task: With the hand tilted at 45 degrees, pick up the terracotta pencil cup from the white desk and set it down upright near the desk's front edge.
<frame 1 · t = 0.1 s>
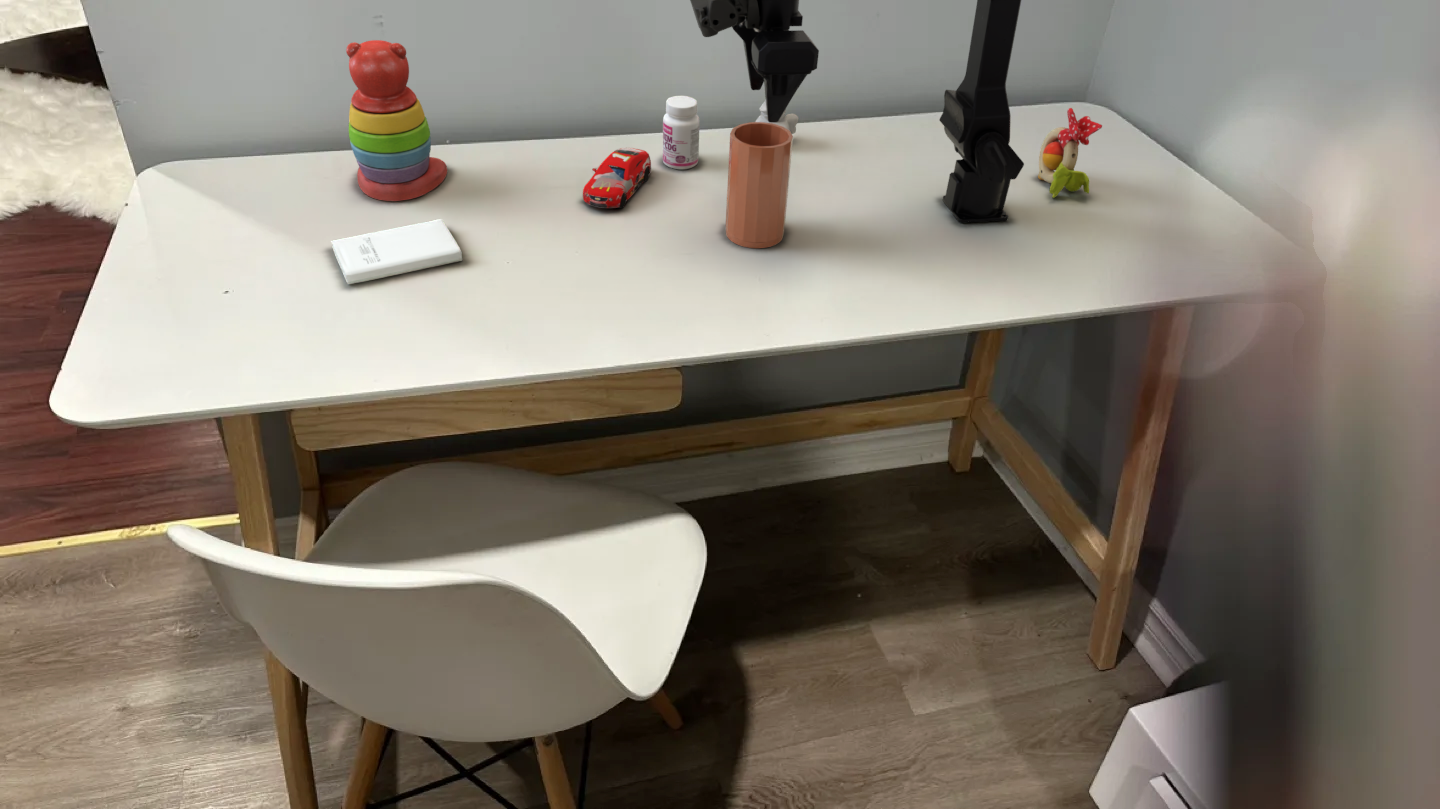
hand: (763, 105, 112), 15 cm above the table, tool pointing down, fingers open, 9 cm apart
stacking bear: (400, 185, 125), on the table
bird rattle: (1052, 189, 132), on the table
pencil cup: (754, 233, 119), on the table
hard drive: (398, 258, 112), on the table
pill bottle: (680, 163, 133), on the table
race car: (618, 190, 126), on the table
white rounded figure: (774, 144, 139), on the table
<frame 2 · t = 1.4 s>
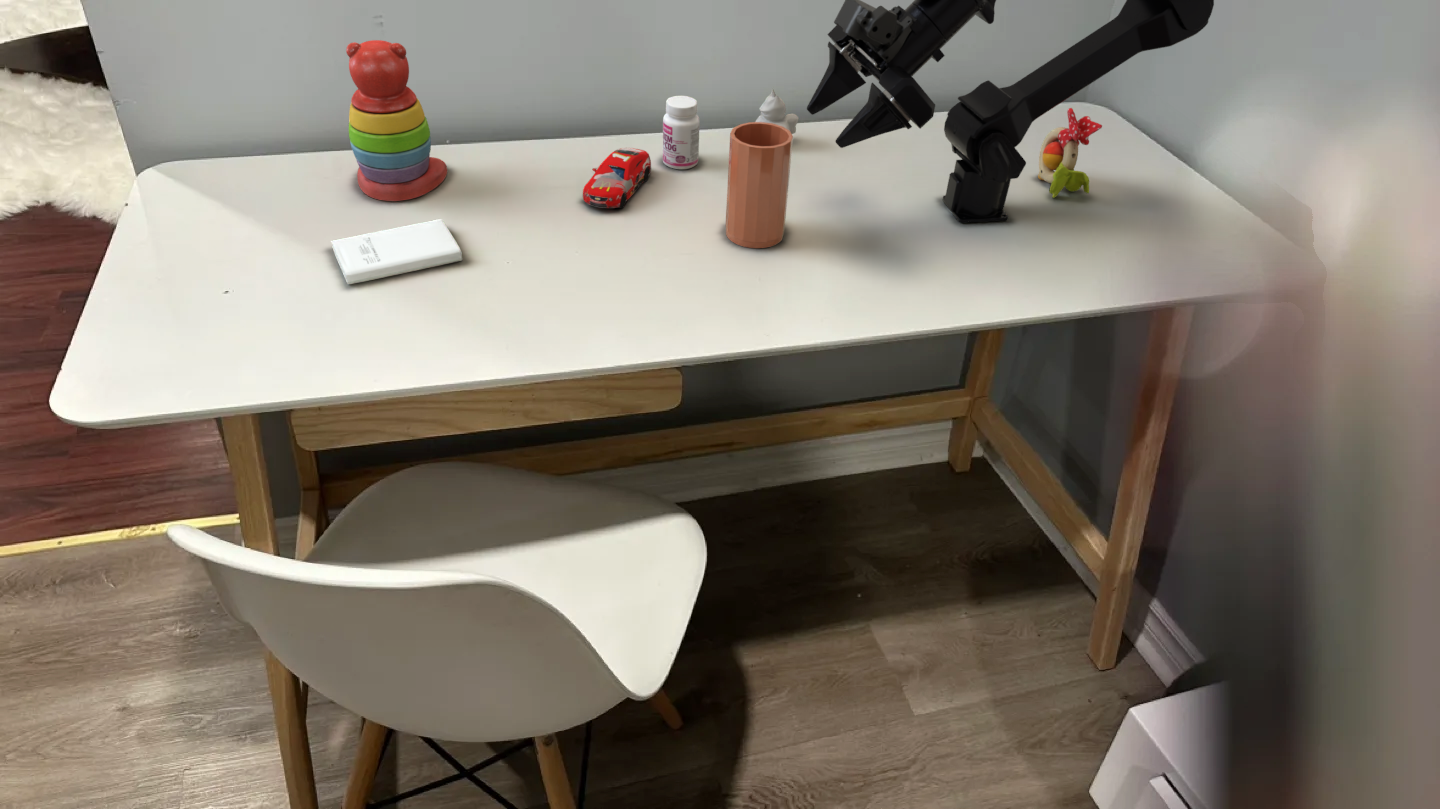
hand: (823, 127, 113), 13 cm above the table, tool tilted 45°, fingers open, 9 cm apart
nothing on the table moved.
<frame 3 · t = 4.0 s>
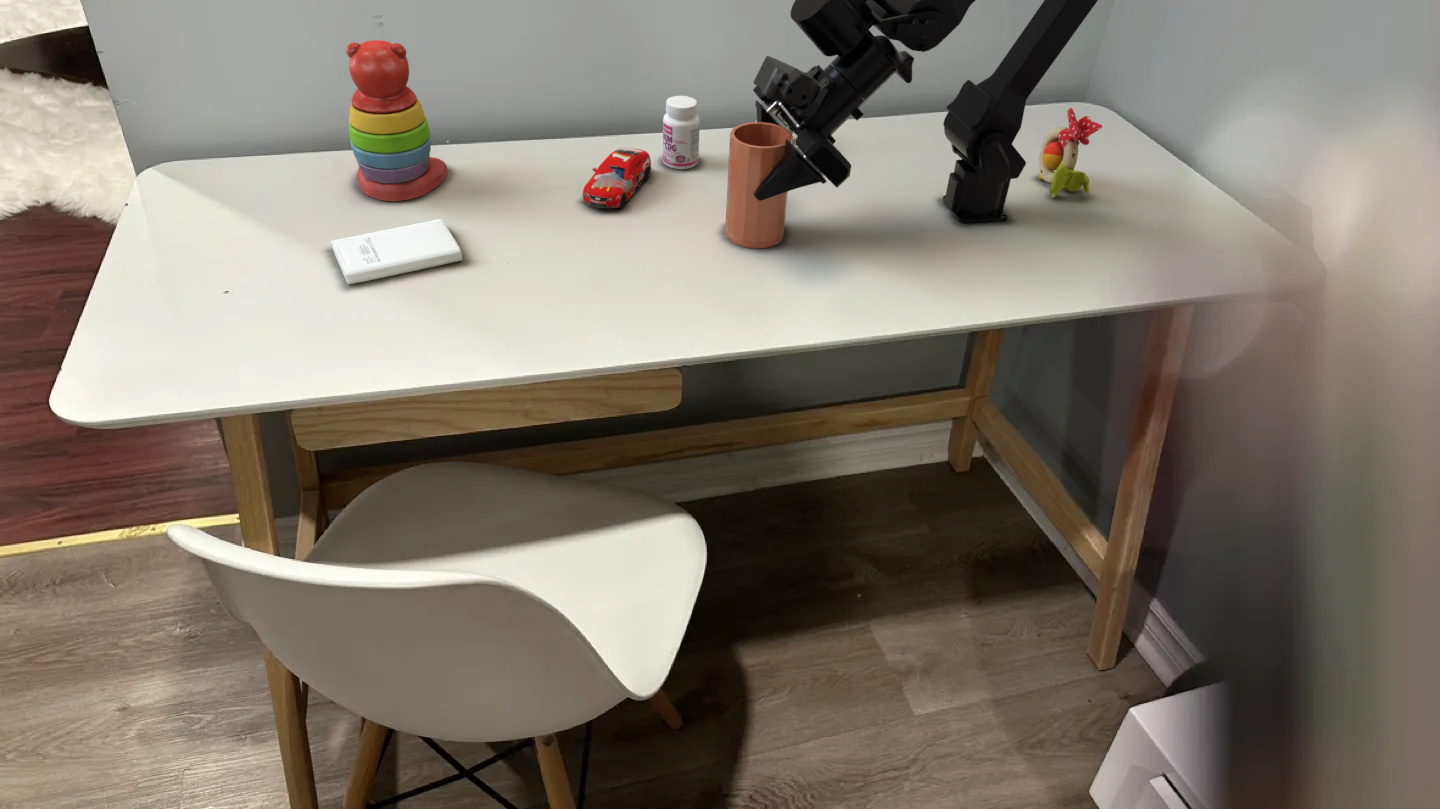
hand: (746, 183, 114), 7 cm above the table, tool tilted 45°, fingers closed on pencil cup, 7 cm apart
pencil cup: (754, 234, 119), on the table, touching gripper
everything else where it was.
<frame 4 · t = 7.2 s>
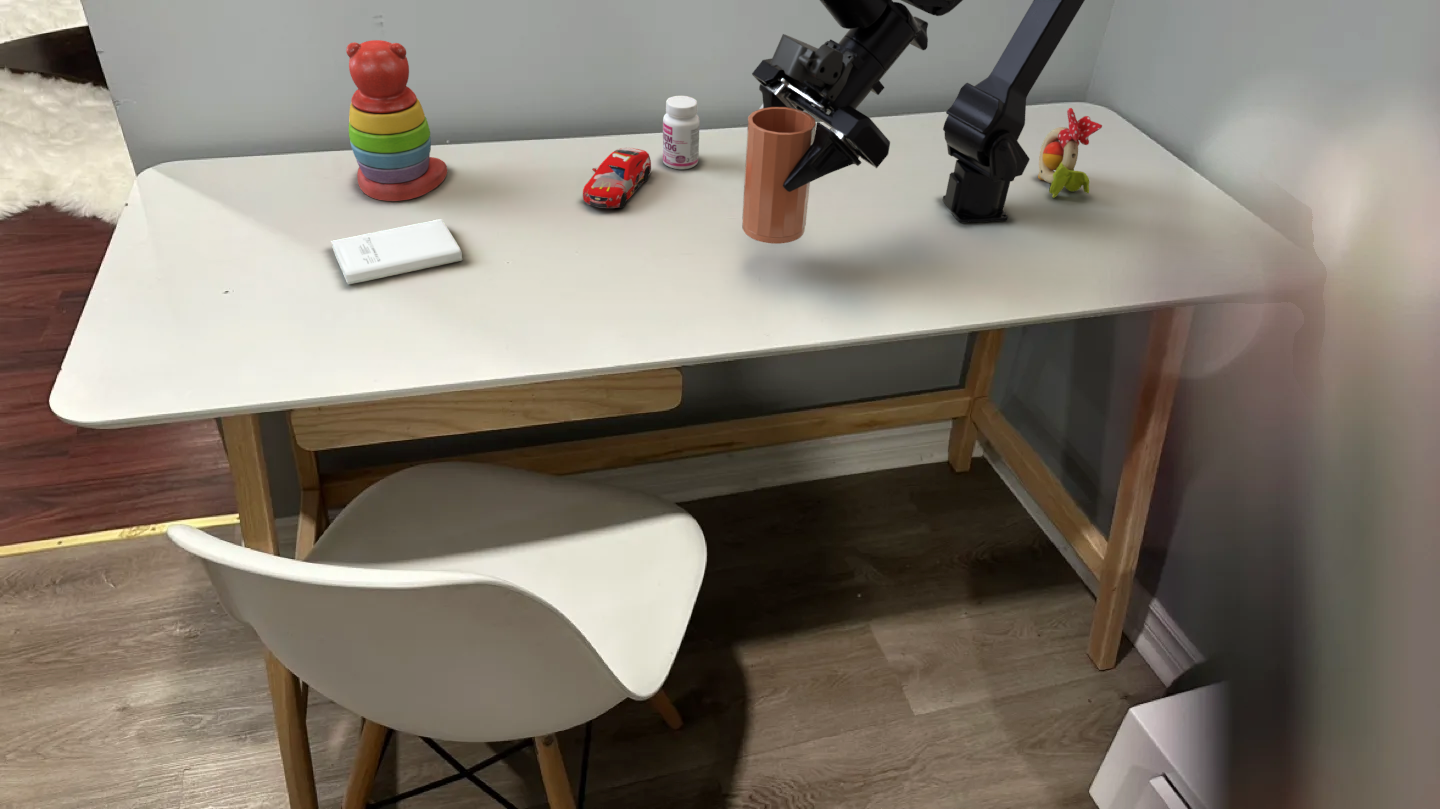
hand: (766, 174, 105), 12 cm above the table, tool tilted 45°, fingers closed on pencil cup, 7 cm apart
pencil cup: (773, 228, 110), point 5 cm above the table, touching gripper
everything else where it was.
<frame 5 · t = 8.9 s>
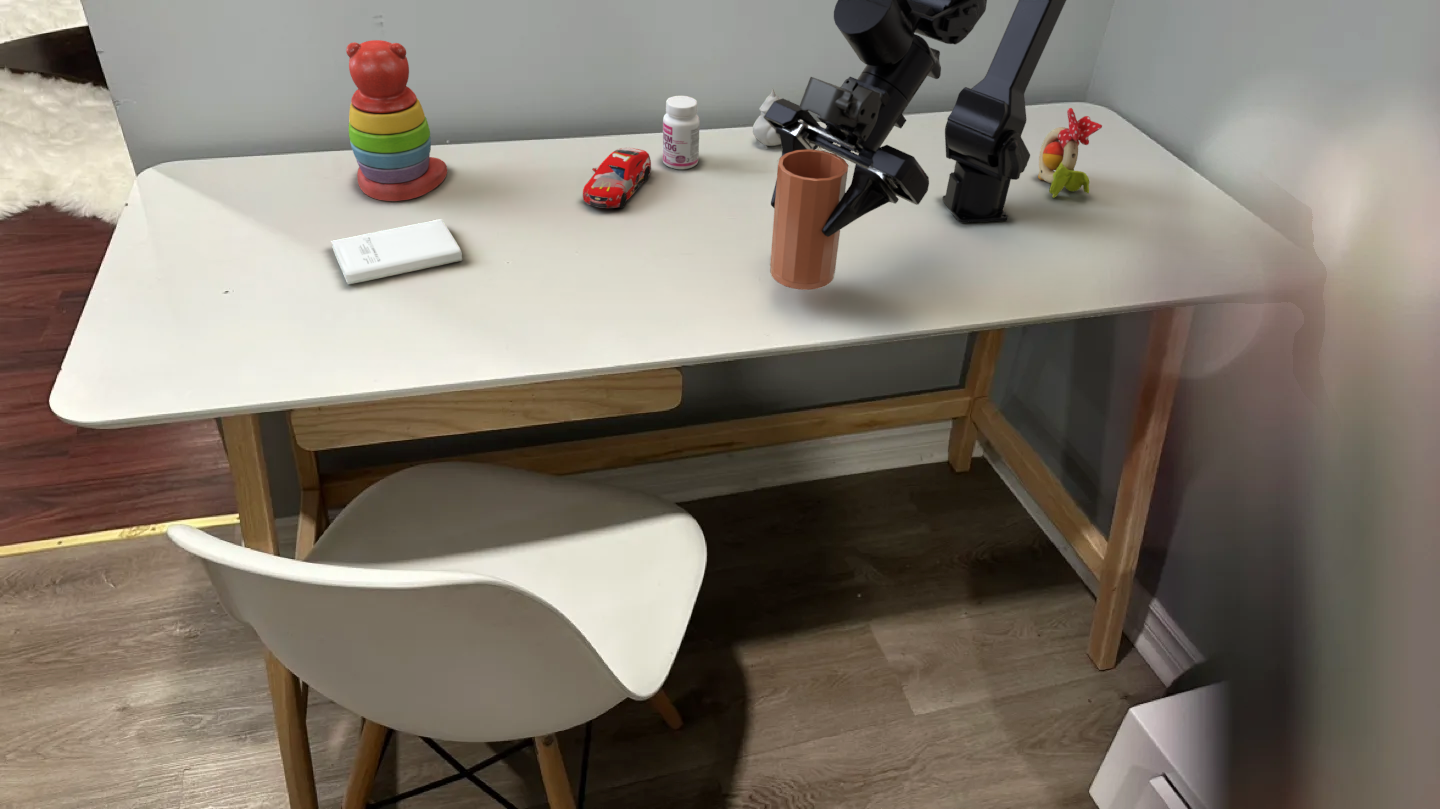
hand: (798, 220, 102), 10 cm above the table, tool tilted 45°, fingers closed on pencil cup, 7 cm apart
pencil cup: (802, 272, 107), point 3 cm above the table, touching gripper
everything else where it was.
when the fingers open (7 cm above the table, at t = 10.4 s): pencil cup stays where it is, on the table.
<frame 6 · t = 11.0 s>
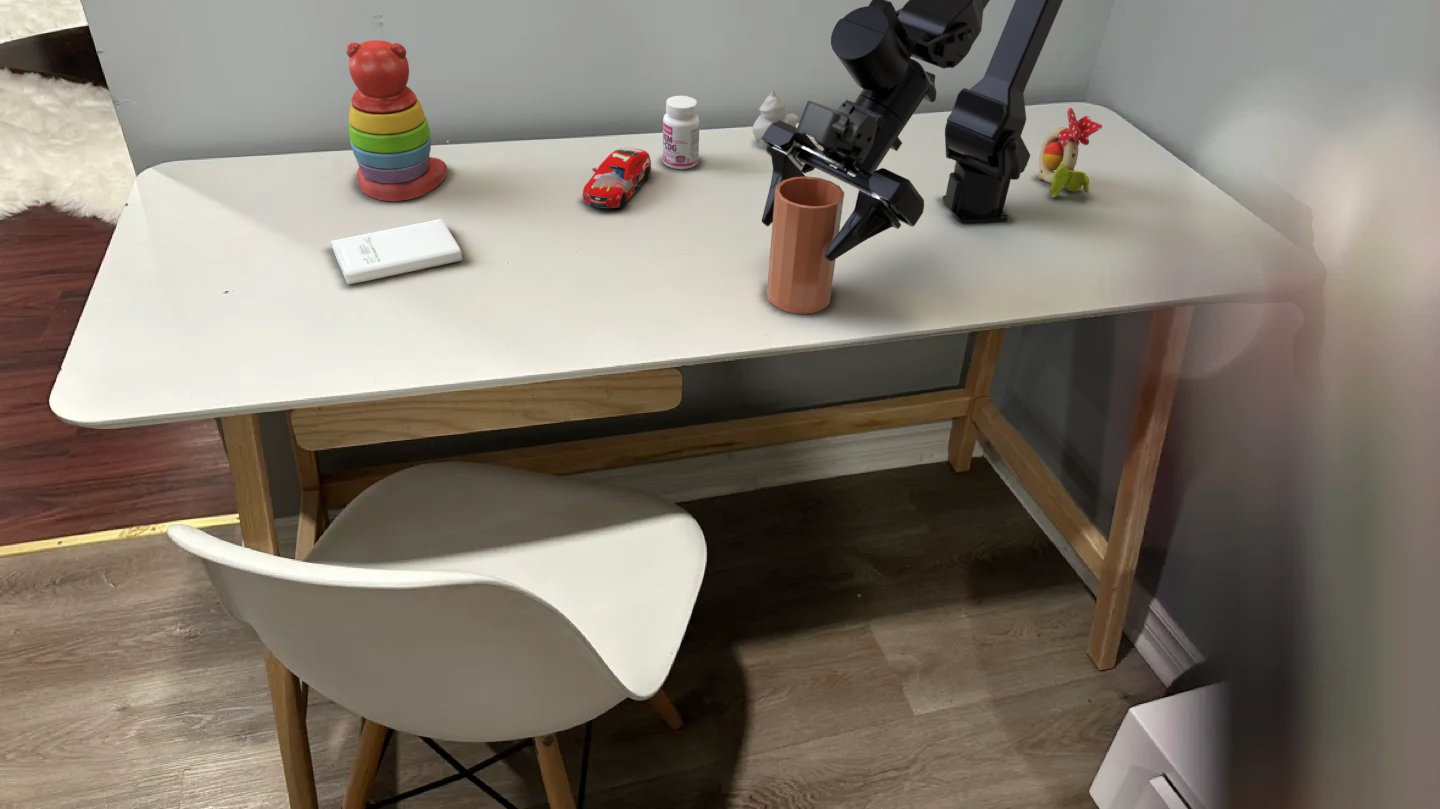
hand: (795, 241, 103), 7 cm above the table, tool tilted 45°, fingers open, 9 cm apart
pencil cup: (798, 296, 108), on the table
everything else where it was.
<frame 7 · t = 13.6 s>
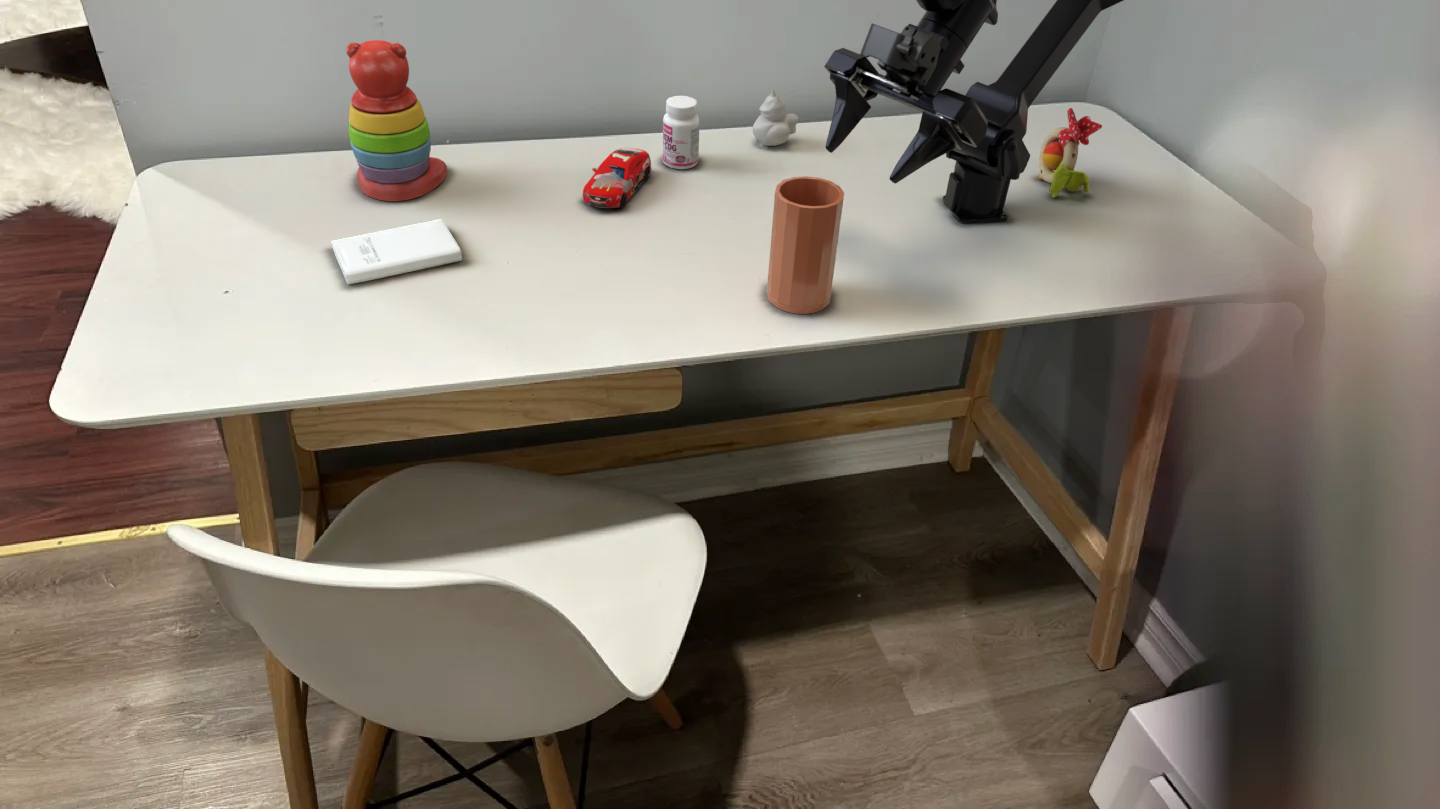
hand: (859, 165, 105), 13 cm above the table, tool tilted 45°, fingers open, 9 cm apart
nothing on the table moved.
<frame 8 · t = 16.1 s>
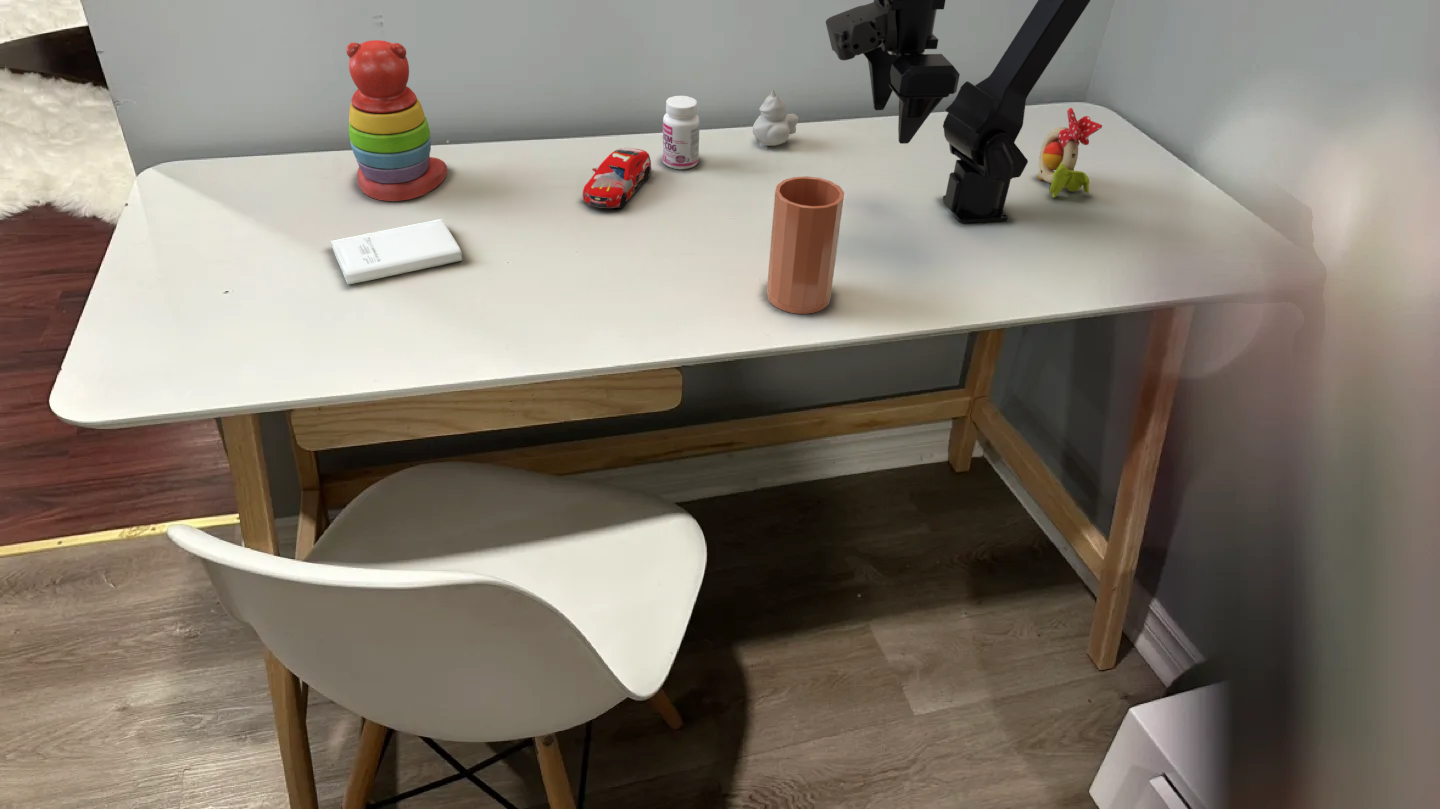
hand: (890, 125, 113), 13 cm above the table, tool pointing down, fingers open, 9 cm apart
nothing on the table moved.
at the end: pencil cup 0.0 cm from the target spot, on the table; pencil cup tilted 0°; the gripper is holding nothing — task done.
